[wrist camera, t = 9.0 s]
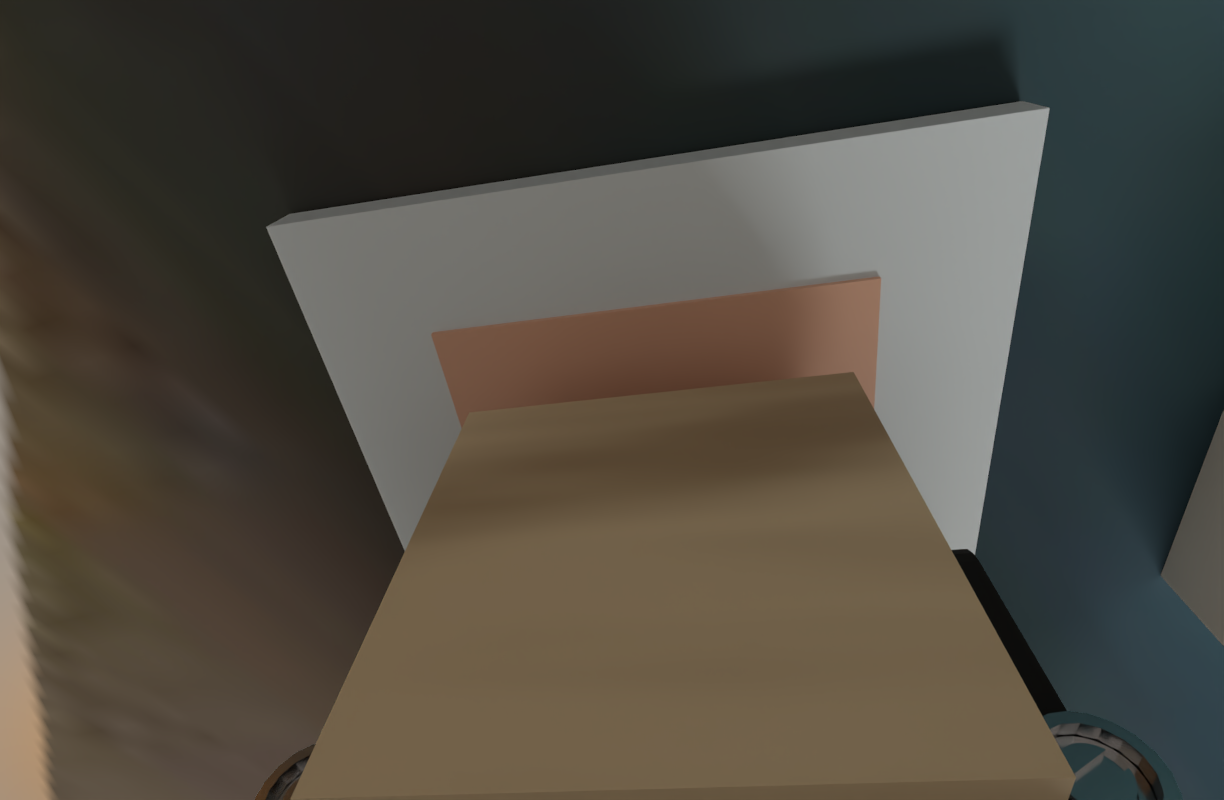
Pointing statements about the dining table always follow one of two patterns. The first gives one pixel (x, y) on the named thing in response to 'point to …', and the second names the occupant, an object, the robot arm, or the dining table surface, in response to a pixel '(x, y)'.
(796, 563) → the oak block
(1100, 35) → the dining table surface
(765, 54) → the dining table surface
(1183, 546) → the cream block
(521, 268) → the white orange square board
